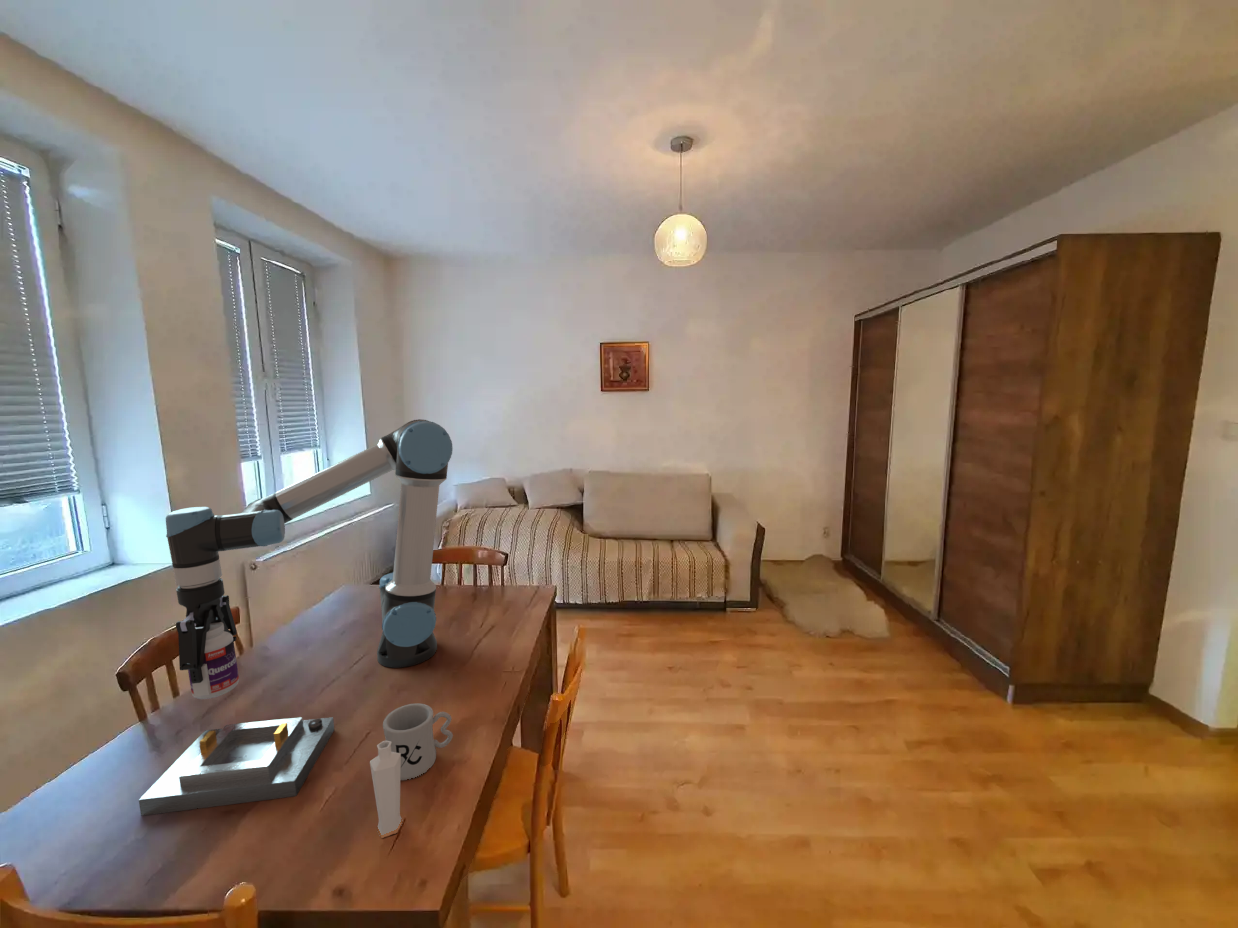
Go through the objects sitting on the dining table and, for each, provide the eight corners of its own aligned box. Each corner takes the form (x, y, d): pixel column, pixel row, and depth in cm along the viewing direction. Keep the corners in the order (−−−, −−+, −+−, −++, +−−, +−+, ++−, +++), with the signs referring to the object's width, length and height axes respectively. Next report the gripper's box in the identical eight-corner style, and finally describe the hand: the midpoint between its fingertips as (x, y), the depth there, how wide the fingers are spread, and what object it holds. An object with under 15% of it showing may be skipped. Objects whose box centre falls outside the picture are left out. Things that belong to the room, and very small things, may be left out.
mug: (386, 789, 91) (383, 738, 90) (384, 757, 99) (380, 710, 98) (457, 766, 97) (455, 718, 95) (449, 737, 105) (447, 693, 103)
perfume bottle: (380, 817, 85) (374, 735, 83) (407, 815, 85) (401, 734, 83) (369, 841, 81) (362, 755, 79) (397, 839, 81) (391, 754, 79)
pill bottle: (213, 703, 104) (203, 638, 102) (182, 699, 106) (171, 635, 104) (249, 681, 112) (240, 620, 110) (219, 678, 114) (210, 617, 111)
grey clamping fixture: (334, 730, 107) (331, 697, 106) (296, 795, 90) (292, 757, 89) (207, 743, 103) (202, 709, 102) (141, 815, 86) (135, 775, 84)
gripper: (210, 566, 115) (224, 659, 118) (141, 604, 94) (161, 715, 98) (246, 563, 116) (260, 655, 119) (186, 600, 96) (204, 710, 99)
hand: (215, 682), depth 109 cm, fingers closed on pill bottle, 8 cm apart
